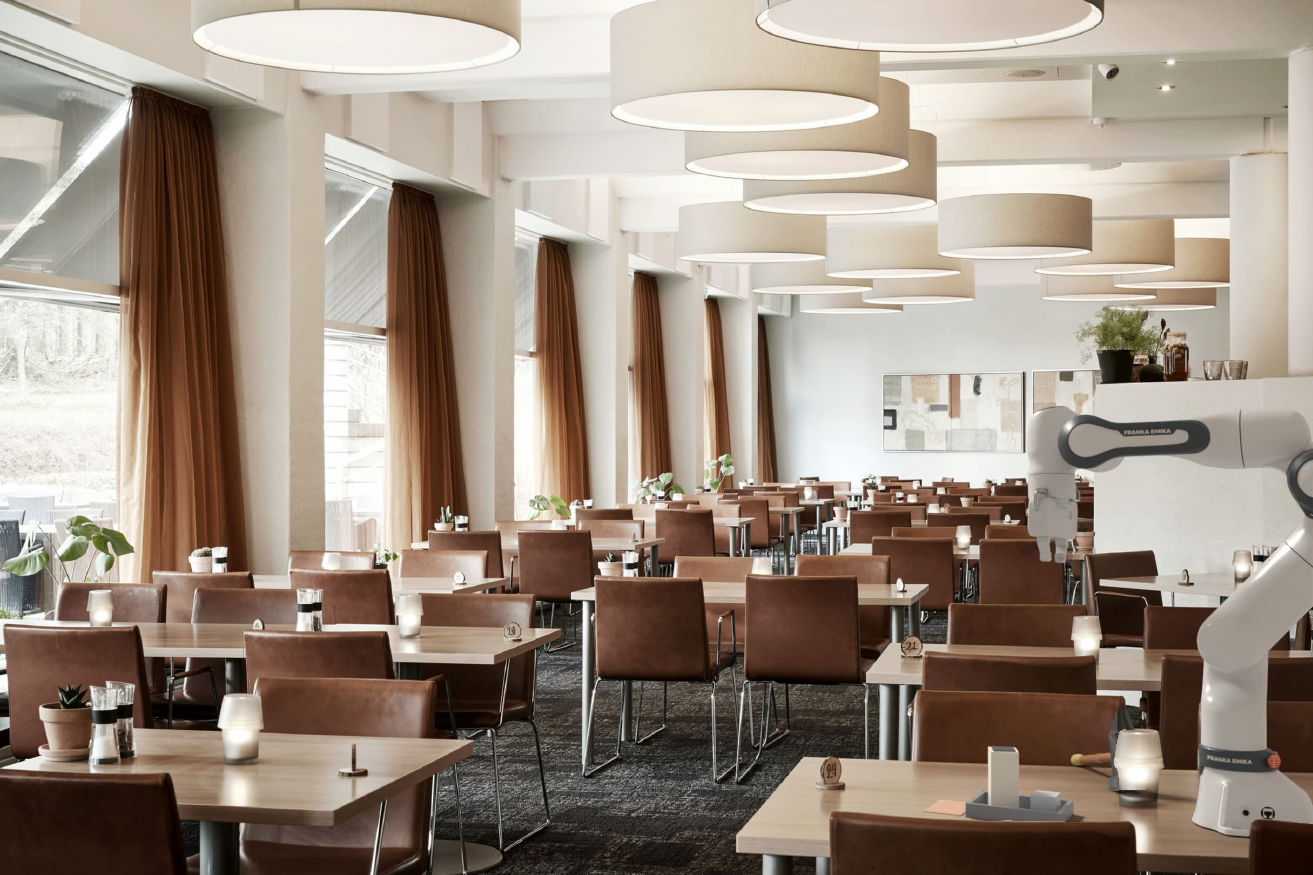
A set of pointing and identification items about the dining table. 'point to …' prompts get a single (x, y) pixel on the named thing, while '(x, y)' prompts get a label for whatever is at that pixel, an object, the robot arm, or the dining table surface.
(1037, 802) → the grey block
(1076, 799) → the dining table surface
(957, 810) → the pad
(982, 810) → the parts tray
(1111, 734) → the hammer
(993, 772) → the white box
